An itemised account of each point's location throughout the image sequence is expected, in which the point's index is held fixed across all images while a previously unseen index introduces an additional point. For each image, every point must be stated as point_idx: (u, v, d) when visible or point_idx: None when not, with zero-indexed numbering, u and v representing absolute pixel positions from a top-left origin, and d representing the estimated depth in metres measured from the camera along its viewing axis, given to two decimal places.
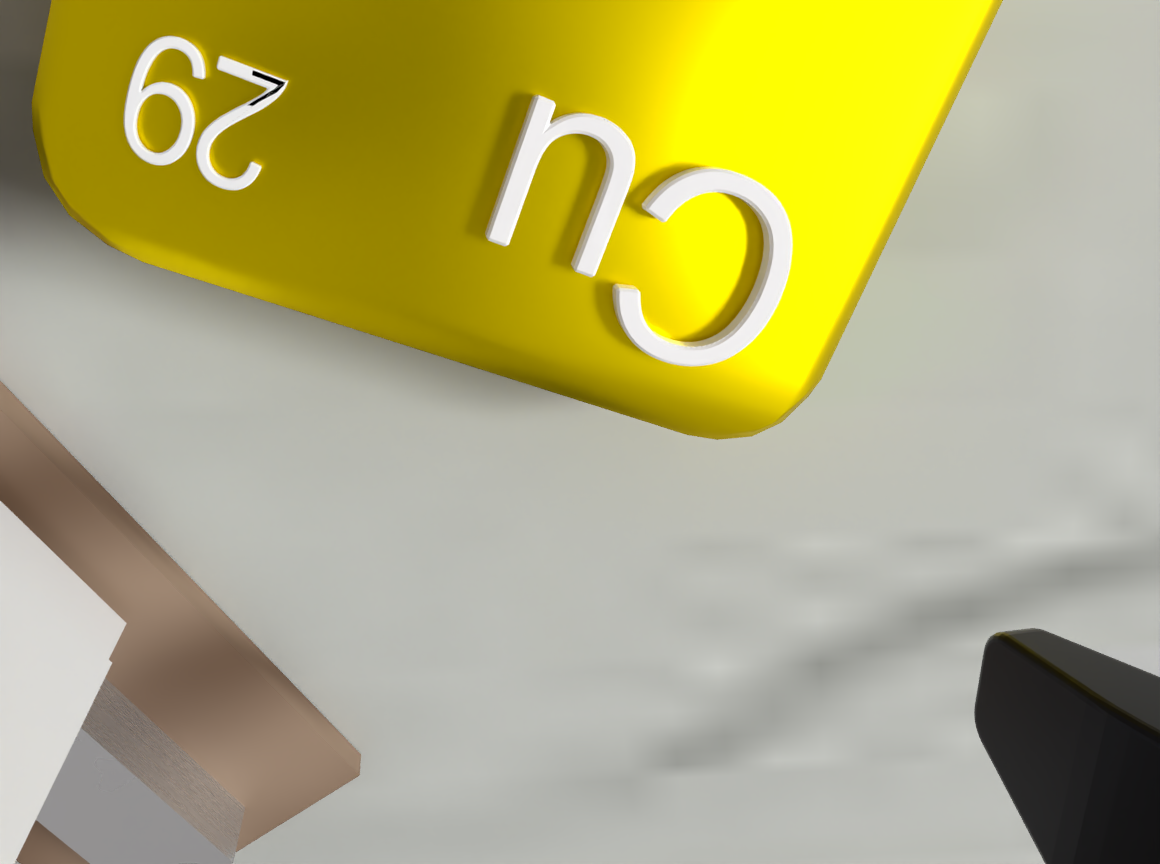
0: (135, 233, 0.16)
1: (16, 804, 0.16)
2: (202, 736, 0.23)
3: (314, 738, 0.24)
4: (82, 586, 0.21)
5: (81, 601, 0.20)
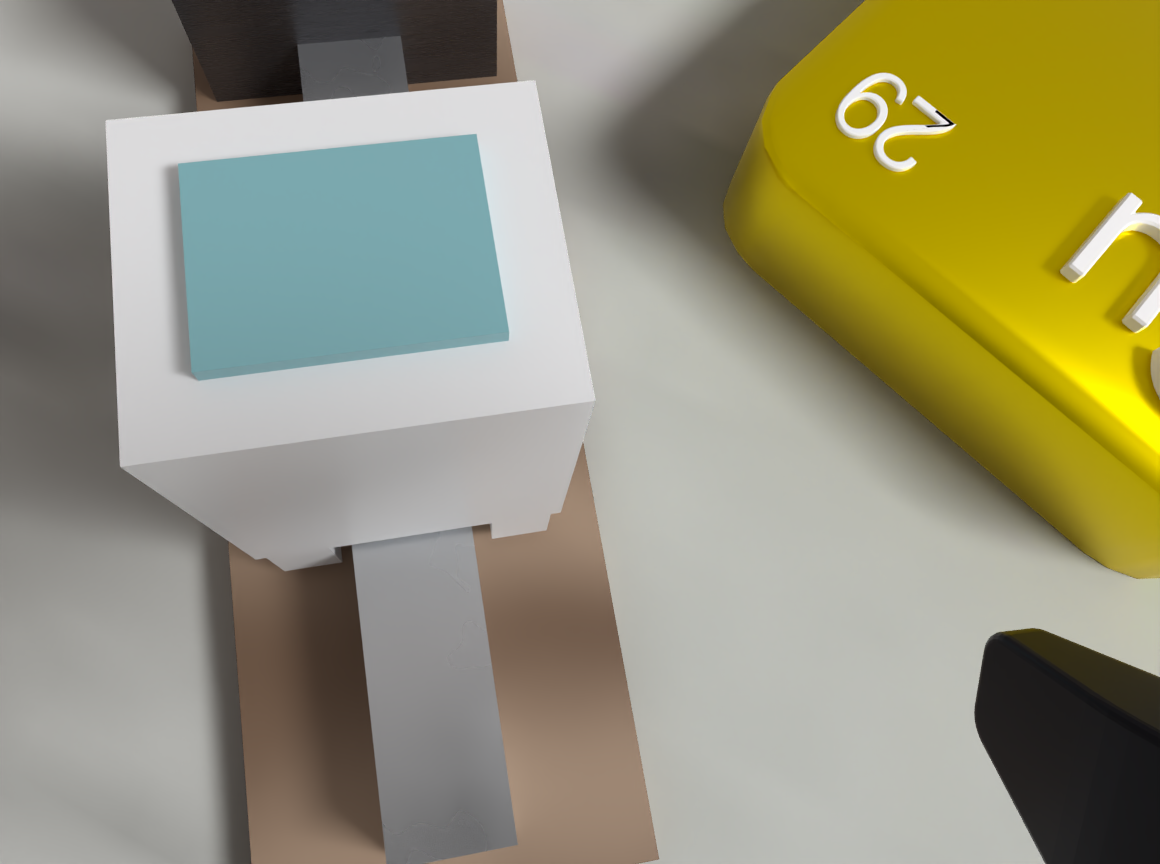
0: (807, 169, 0.21)
1: None
2: (526, 709, 0.20)
3: (635, 777, 0.20)
4: None
5: None
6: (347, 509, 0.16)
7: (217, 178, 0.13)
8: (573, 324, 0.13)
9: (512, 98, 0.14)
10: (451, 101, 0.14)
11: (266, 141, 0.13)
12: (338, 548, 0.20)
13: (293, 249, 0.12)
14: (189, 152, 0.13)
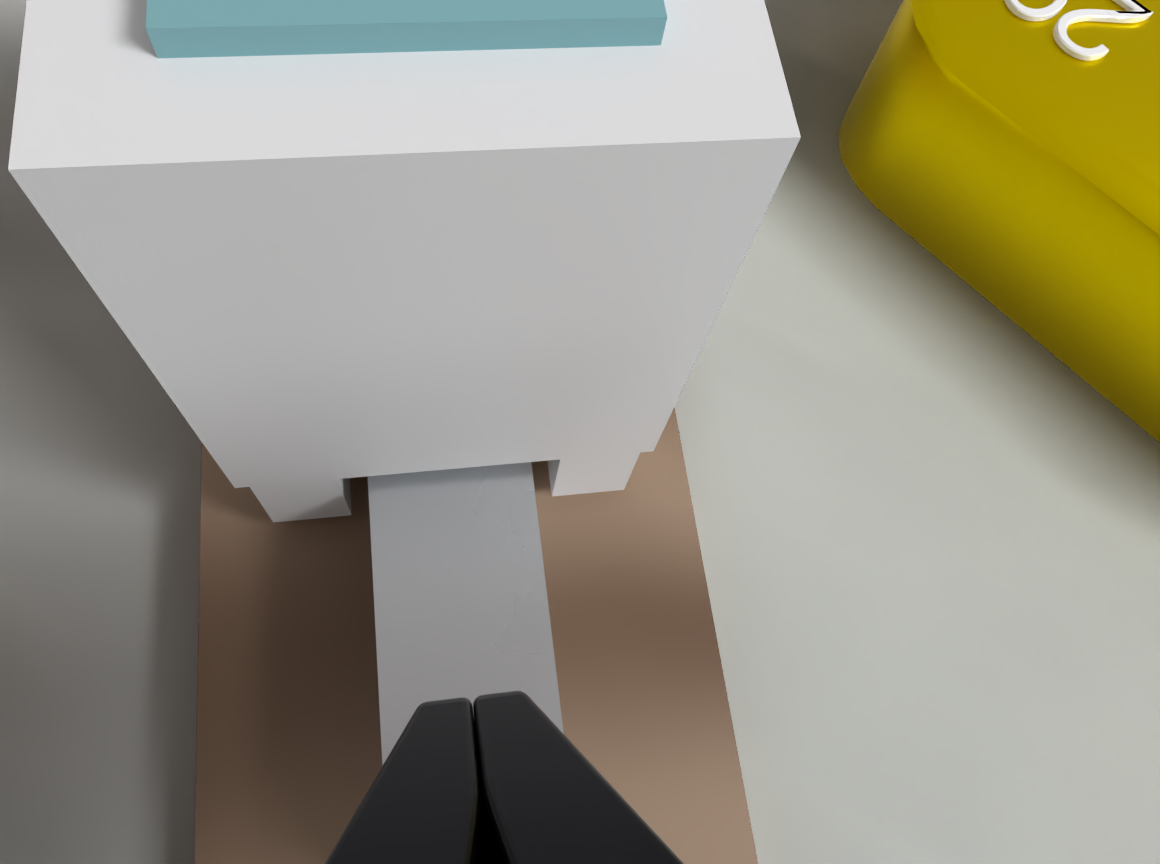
0: (972, 51, 0.17)
1: None
2: (591, 729, 0.15)
3: (740, 831, 0.14)
4: None
5: None
6: (372, 384, 0.11)
7: None
8: (761, 31, 0.08)
9: None
10: None
11: None
12: (348, 493, 0.15)
13: None
14: None
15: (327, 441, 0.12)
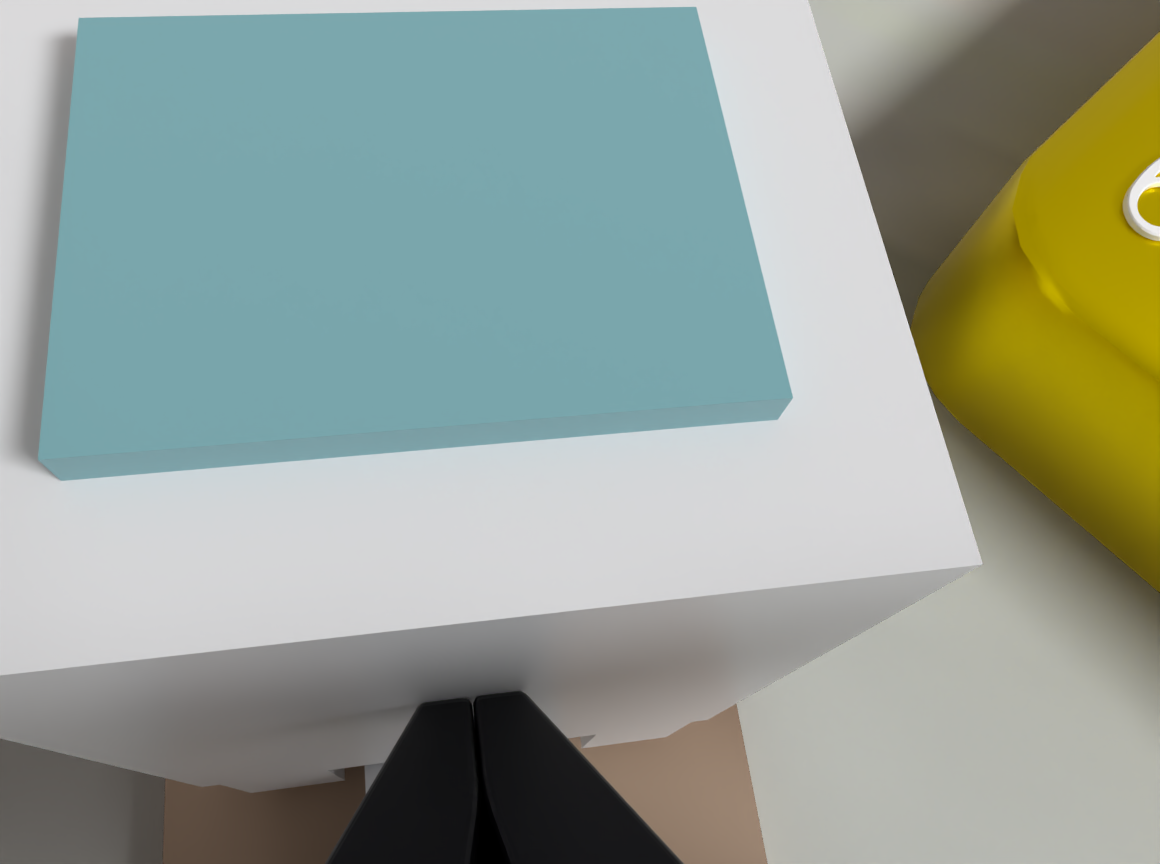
0: (1091, 281, 0.14)
1: None
2: None
3: None
4: None
5: None
6: (370, 731, 0.09)
7: (160, 51, 0.06)
8: (914, 391, 0.06)
9: None
10: None
11: (272, 5, 0.07)
12: None
13: (311, 197, 0.06)
14: (112, 12, 0.06)
15: (314, 758, 0.10)
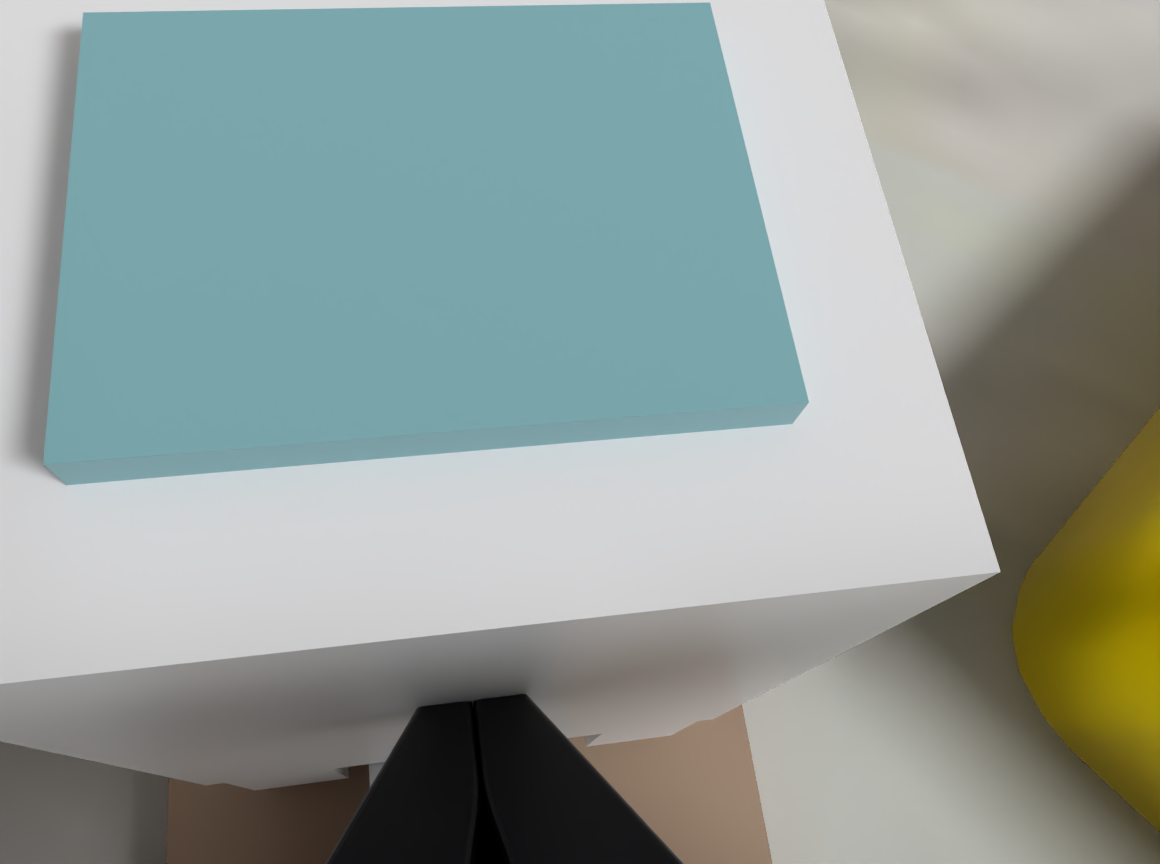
0: None
1: None
2: None
3: None
4: None
5: None
6: (376, 733, 0.08)
7: (166, 46, 0.06)
8: (931, 395, 0.06)
9: None
10: None
11: None
12: None
13: (320, 197, 0.06)
14: (117, 7, 0.06)
15: (319, 758, 0.10)
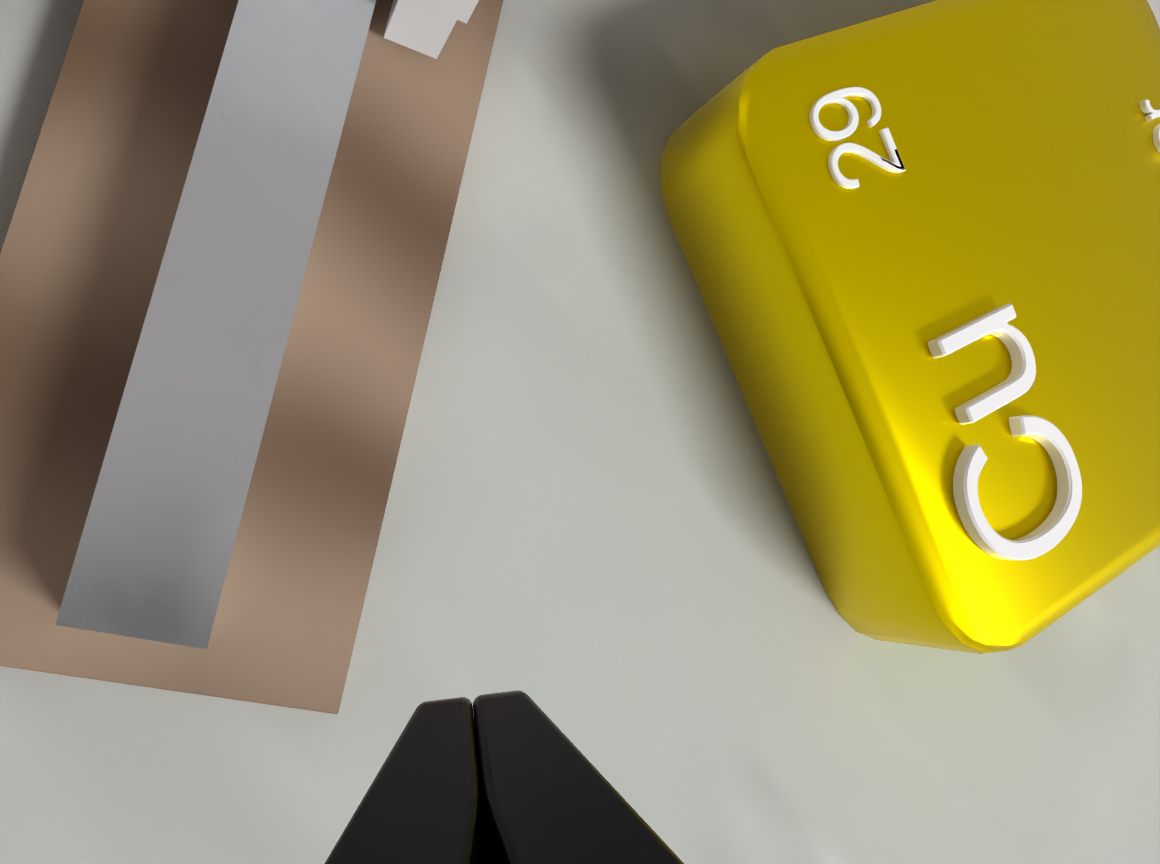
0: (767, 141, 0.21)
1: None
2: (267, 525, 0.19)
3: (348, 630, 0.19)
4: None
5: None
6: None
7: None
8: None
9: None
10: None
11: None
12: None
13: None
14: None
15: None
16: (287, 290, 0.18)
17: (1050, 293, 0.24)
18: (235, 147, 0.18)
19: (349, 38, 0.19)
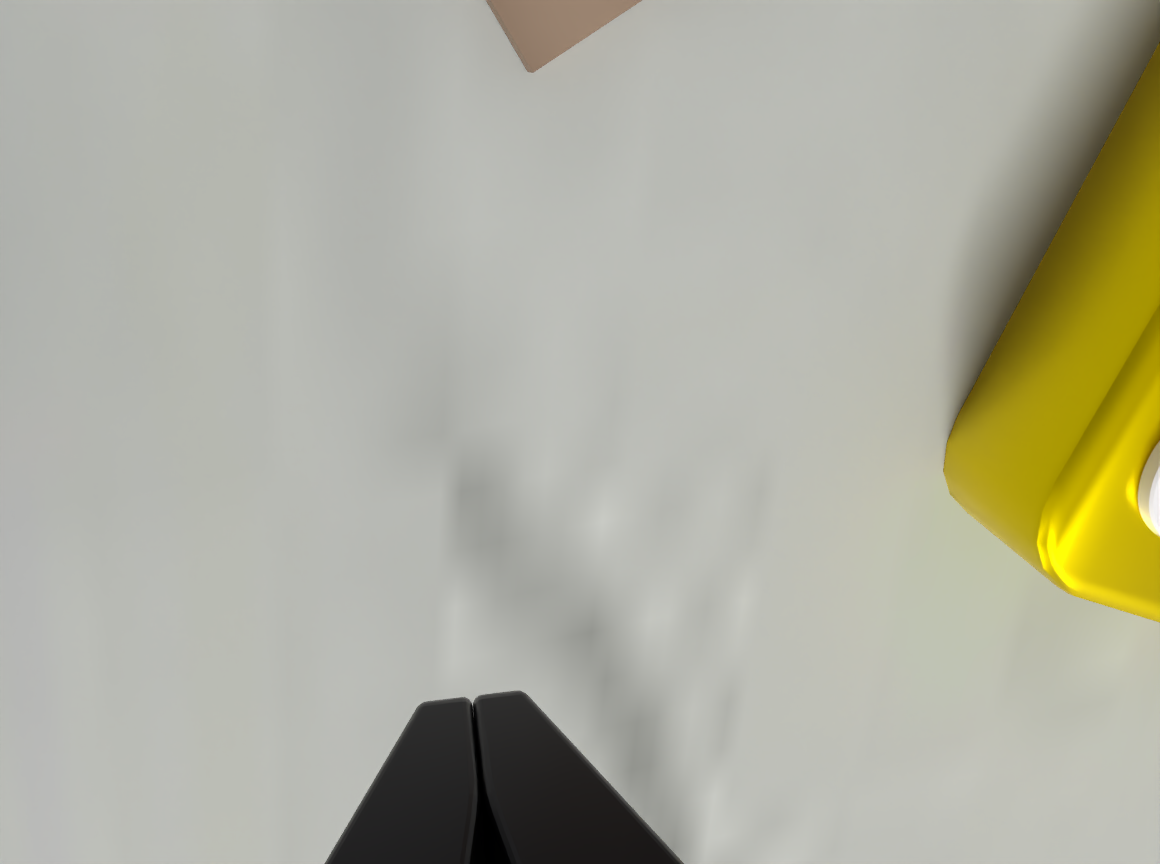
0: None
1: None
2: None
3: (603, 13, 0.17)
4: None
5: None
6: None
7: None
8: None
9: None
10: None
11: None
12: None
13: None
14: None
15: None
16: None
17: None
18: None
19: None
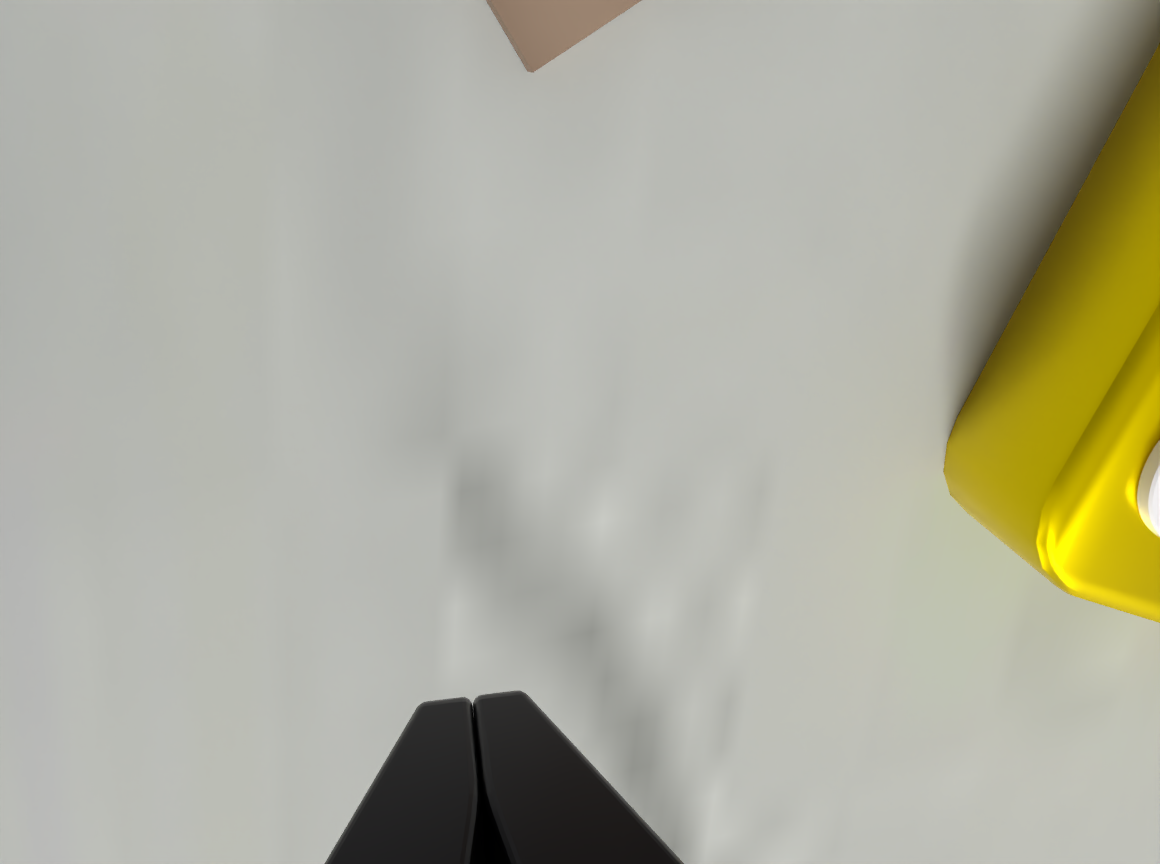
0: None
1: None
2: None
3: (603, 13, 0.17)
4: None
5: None
6: None
7: None
8: None
9: None
10: None
11: None
12: None
13: None
14: None
15: None
16: None
17: None
18: None
19: None
